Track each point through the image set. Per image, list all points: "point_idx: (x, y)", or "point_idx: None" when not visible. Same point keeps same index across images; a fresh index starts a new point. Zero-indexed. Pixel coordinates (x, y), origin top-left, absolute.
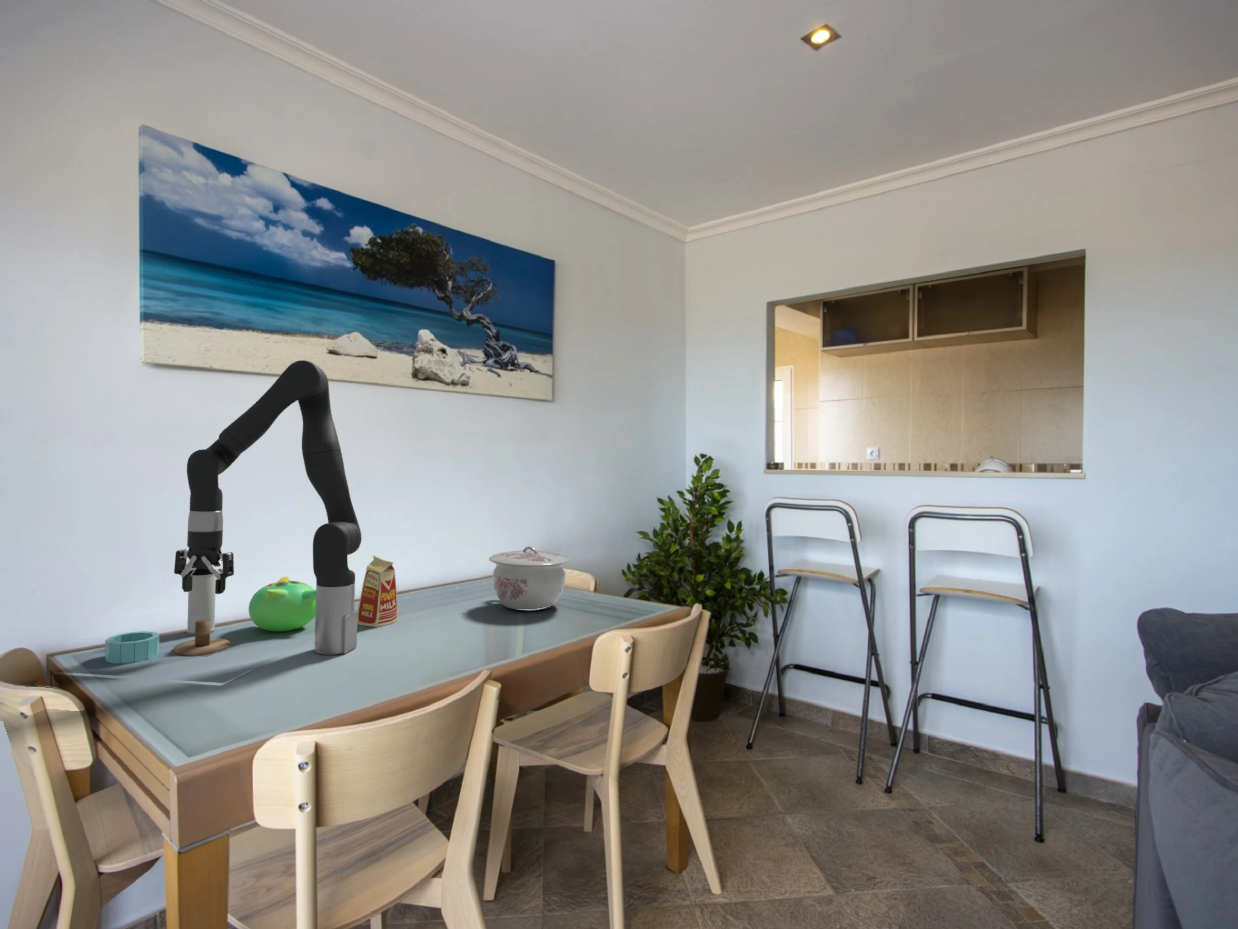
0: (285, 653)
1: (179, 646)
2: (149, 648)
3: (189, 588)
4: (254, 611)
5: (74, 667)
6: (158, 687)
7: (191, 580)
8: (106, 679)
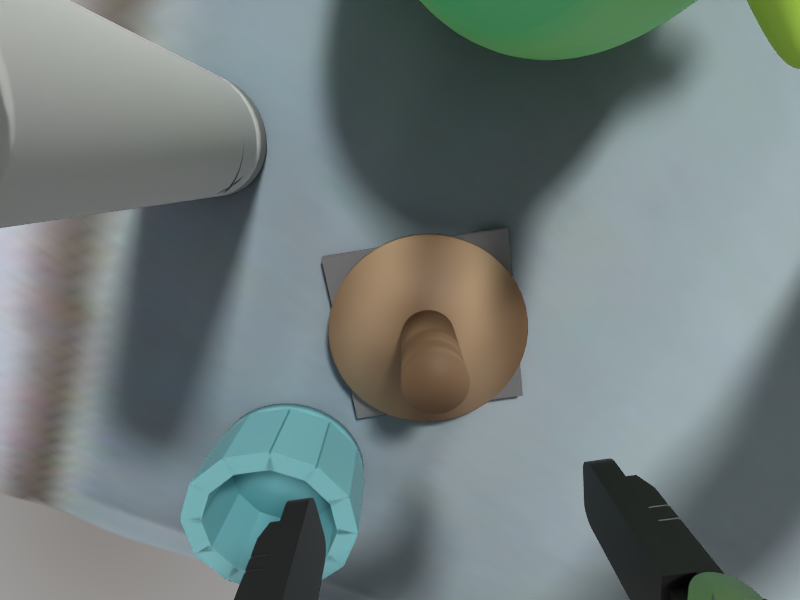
0: (769, 242)
1: (362, 377)
2: (360, 501)
3: (314, 536)
4: (518, 49)
5: None
6: (579, 595)
7: (291, 584)
8: (399, 594)
